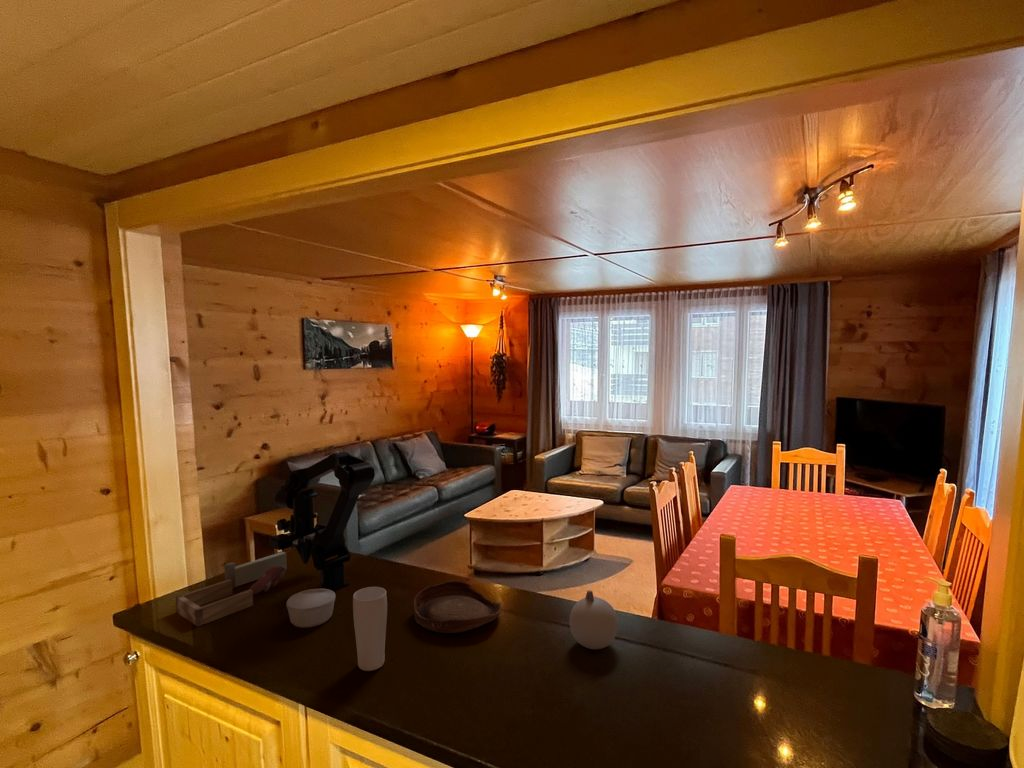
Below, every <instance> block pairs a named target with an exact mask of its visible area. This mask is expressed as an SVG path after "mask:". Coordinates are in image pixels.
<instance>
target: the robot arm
mask: <svg viewBox="0 0 1024 768" xmlns="http://www.w3.org/2000/svg"><path fill="white" fill-rule="evenodd" d="M332 472H333V474H334V477H335V478H336V479H337V480H338V483H339V486H340V489H341V490H340V493H339V494H338V497H337V499H336V501H335V504H334V507H333V509H332V512H331V514H330V517H329V518H328V519H329V520H325V521H322V522H318V523H316V525H315V519H316V518H317V517H318V514H317V513H315V499H314V498H316V497H318V496H319V495H318V493H317V492H316V491H315V490H314V489H313V488H312V487H314V486H316V485H317V484H318V483H319V482H320V481H321V478H323V477H325V476H327V475H329V474H330V473H332ZM375 475H376V473H375V469H374V467H373V466H372V465H371V463H369V462H367V461H365V460H364V459H362V458H359V457H356V456H353V455H351V454H350V453H348V452H347V451H340V452H334V453H331V454H330V455H328V456H327V457H324V458H323V459H321V460H319V461H318V462H316V463H313V464H312V465H310V466H307V467H304V468H299V469H295V470H291V471H289V473H288V477H287V479H285V480H286V481H285V483H284V484H281V485H280V489H279V490H278V491H277V492H276V494H275V497H274V503H275V504H276V506H279V507H282V508H286V509H291V510H292V514H290V517H289V519H290V520H287V519H286V518H282V519H278V520H277V521H276V528H277V531H278V532H281V531H283V533H280V534H277V535H273V536H271V537H270V538H269V541H268V547H270V548H273V549H275V550H277V551H282V550H286V549H288V548H291V547H292V546H293V547H294V548H295V549H296V550H297V552H298V555H299V558H300V560H301V562H302V564H304V565H306V564H308V562H309V560H310V558H312V563H313V568H315V569H316V570H317V571H320V583H318V584H316V588H317V589H328V590H331V591H333V592H334V591H336V590H339V589H341V588H344V587H346V586H348V585H350V582H349V581H346V580H345V565H344V563H348V562H350V561H351V557H352V554H351V552H350V551H349V549H348V547H347V545H346V538H345V535H344V532H345V530H346V527H347V525H348V524H349V521H350V518H351V516H352V513H353V511H354V509H355V507H356V504H357V502H358V499H359V497H360V495H361V494H362V493H363V492H365V491H366V490H367V489H368V488H369V487H370V486H371V484H372V482H373V481H374V479H375ZM286 533H290V534H289V535H288V534H286Z"/></svg>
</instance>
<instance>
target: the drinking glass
mask: <svg viewBox="0 0 1024 768" xmlns="http://www.w3.org/2000/svg"><path fill="white" fill-rule="evenodd" d="M352 615H353V617H352V618H353V626H354V634H355V643H356V652H357V666H358V668H359V669H360V670H362V671H365V672H371V671H376V670H378V669H379V668H381V667H382V666H384V663H385V659H386V658H385V657H386V656H385V653H386V652H385V651H386V648H385V647H386V635H387V619H388V596H387V590H386V589H385V588H383V587H380V586H367V587H363V588H361V589H358V590H356V591H355V592H354V593H353V595H352Z"/></svg>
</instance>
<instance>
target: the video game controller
mask: <svg viewBox="0 0 1024 768" xmlns="http://www.w3.org/2000/svg"><path fill="white" fill-rule="evenodd" d="M286 572H287V569H285V568H283V567H279V565H278V566H277V567H273V568H270V569H268V570H267V571H266V573H265V574H263V575H262V576H261V577H260V578H259V579H257V580H255V582H254V583H253V584H252V585H251V586H250V587H249V588H248V590H249V589H251V590H253V596H254V595H256V594H258V593H260V592H262V591H263V592H265V593H267V592H268V591H269V590H270V589H271V587H273V588H274V587H276V586H277V585H278V583H279V581H280V580H281V579H282V578H283V577H284V576H285V574H286Z"/></svg>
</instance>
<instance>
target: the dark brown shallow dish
mask: <svg viewBox="0 0 1024 768" xmlns="http://www.w3.org/2000/svg"><path fill="white" fill-rule="evenodd" d="M502 608H503V607H502V604H501V602H498V603H496V602H495V601H491V600H490V599H488V598H487V597H485V596H484V595H483V594H482V593H480V592H479V591H477V590H476V589H474V588H473V587H472V585H471V584H468V583H467V582H464V581H462V580H461V581H460V580H447V581H445V582H440V583H437V584H433V585H432V584H431V585H428V586H426V587H425V588H423V589H421V590H420V591H419V592H418V593H417V594H416V595H415V596H414V598H413V605H412V609H413V616H414V619H415V622H416V623H417V624H419V625H420V627H423V628H425V629H426V630H429V631H431V632H435V633H436V632H437V633H438V634H439V633H442V634H459V633H464V632H468V631H470V630H473V629H477V628H479V627H481V626H483V625H485V624H489V623H491V622H493V621H494V620H496V619H497V618H498V617H499V615H500V614H501V612H502V610H503V609H502Z"/></svg>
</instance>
